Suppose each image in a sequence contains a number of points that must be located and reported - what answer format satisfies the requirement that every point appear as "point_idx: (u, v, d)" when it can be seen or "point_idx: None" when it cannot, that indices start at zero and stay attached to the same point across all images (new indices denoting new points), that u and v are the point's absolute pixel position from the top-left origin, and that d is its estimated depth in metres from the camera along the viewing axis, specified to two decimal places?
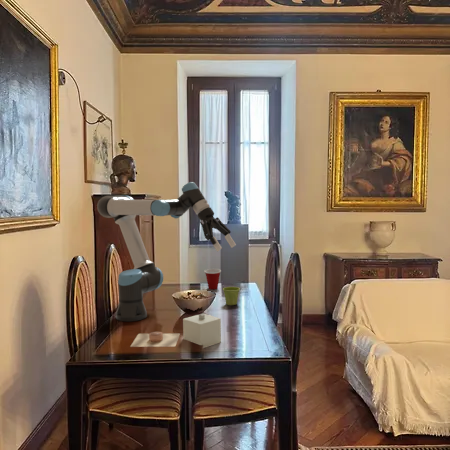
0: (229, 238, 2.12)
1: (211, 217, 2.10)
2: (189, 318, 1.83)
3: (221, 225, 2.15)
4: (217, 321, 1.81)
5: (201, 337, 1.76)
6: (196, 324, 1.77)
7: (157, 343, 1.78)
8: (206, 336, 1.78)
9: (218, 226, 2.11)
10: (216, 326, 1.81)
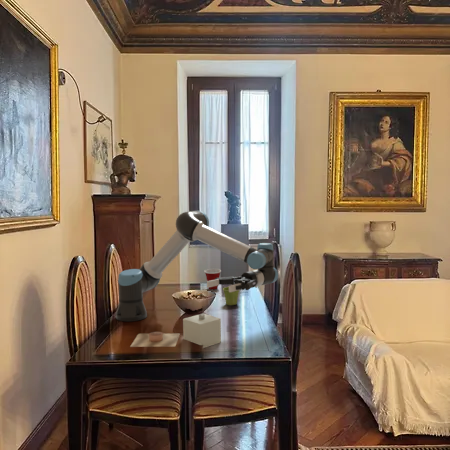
0: (215, 284, 1.96)
1: None
2: (189, 318, 1.83)
3: None
4: (217, 321, 1.81)
5: (201, 337, 1.76)
6: (196, 324, 1.77)
7: (157, 343, 1.78)
8: (206, 336, 1.78)
9: (232, 282, 1.99)
10: (216, 326, 1.81)
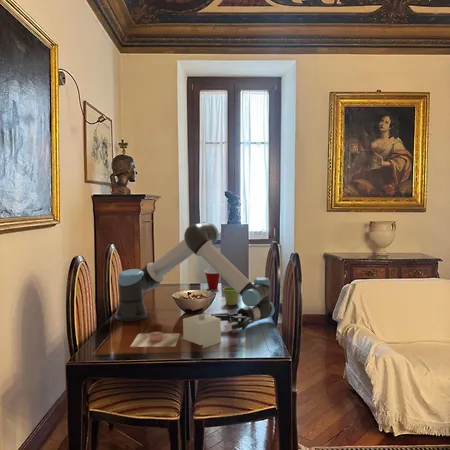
0: None
1: None
2: (189, 318, 1.83)
3: None
4: (217, 321, 1.81)
5: (201, 337, 1.76)
6: (196, 324, 1.77)
7: (157, 343, 1.78)
8: (206, 336, 1.78)
9: (228, 319, 1.97)
10: (216, 326, 1.81)
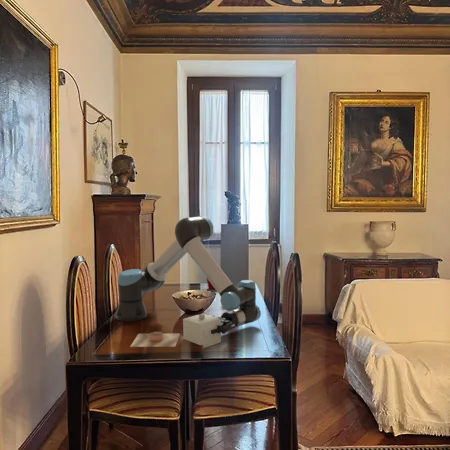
0: None
1: None
2: (189, 318, 1.83)
3: None
4: (217, 321, 1.81)
5: (201, 337, 1.76)
6: (196, 324, 1.77)
7: (157, 343, 1.78)
8: None
9: None
10: (216, 326, 1.81)
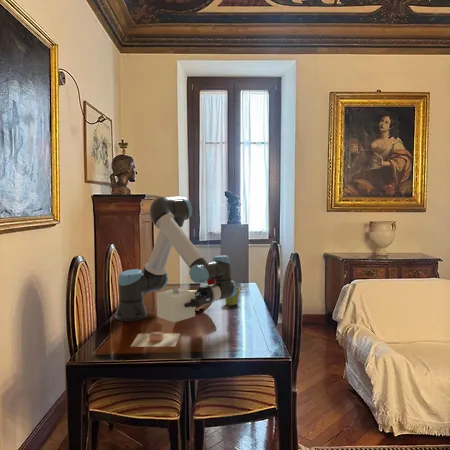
0: None
1: None
2: (163, 292, 1.80)
3: None
4: (191, 295, 1.79)
5: (174, 310, 1.73)
6: (169, 297, 1.74)
7: (157, 343, 1.78)
8: None
9: None
10: None
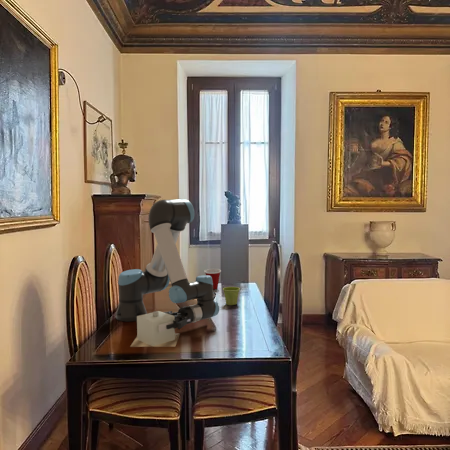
0: None
1: None
2: (143, 315, 1.82)
3: None
4: (171, 318, 1.81)
5: (153, 334, 1.75)
6: (148, 321, 1.76)
7: None
8: (159, 333, 1.77)
9: None
10: None
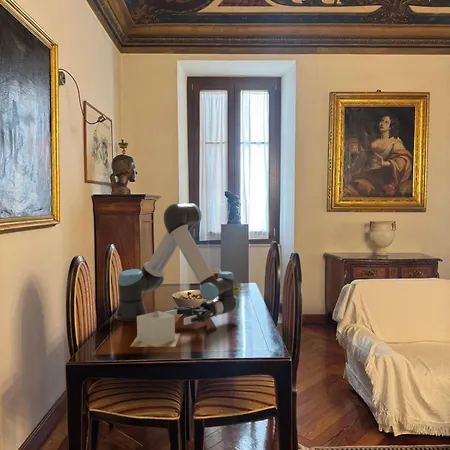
0: (173, 314, 1.96)
1: None
2: (143, 315, 1.82)
3: None
4: (171, 318, 1.81)
5: (153, 334, 1.75)
6: (148, 321, 1.76)
7: None
8: (159, 333, 1.77)
9: (190, 312, 1.99)
10: (169, 324, 1.80)
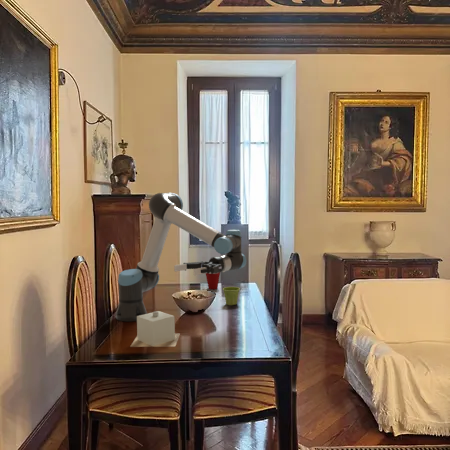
0: (182, 268, 2.02)
1: None
2: (143, 315, 1.82)
3: None
4: (171, 318, 1.81)
5: (153, 334, 1.75)
6: (148, 321, 1.76)
7: None
8: (159, 333, 1.77)
9: (199, 267, 2.04)
10: (169, 324, 1.80)
